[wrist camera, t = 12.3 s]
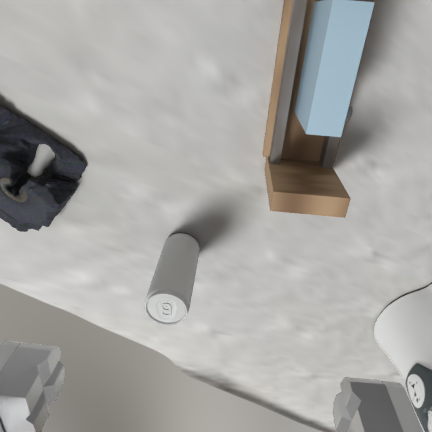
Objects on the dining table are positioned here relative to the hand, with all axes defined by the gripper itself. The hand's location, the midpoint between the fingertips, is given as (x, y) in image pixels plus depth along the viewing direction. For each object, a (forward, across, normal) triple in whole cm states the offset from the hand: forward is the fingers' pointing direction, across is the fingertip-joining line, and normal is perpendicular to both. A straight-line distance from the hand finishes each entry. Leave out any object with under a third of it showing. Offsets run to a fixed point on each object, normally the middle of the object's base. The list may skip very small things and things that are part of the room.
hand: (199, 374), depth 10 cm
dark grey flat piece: (+34, +29, +8) cm, 45 cm away
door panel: (+32, -8, -6) cm, 34 cm away
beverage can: (+33, +5, +19) cm, 39 cm away
